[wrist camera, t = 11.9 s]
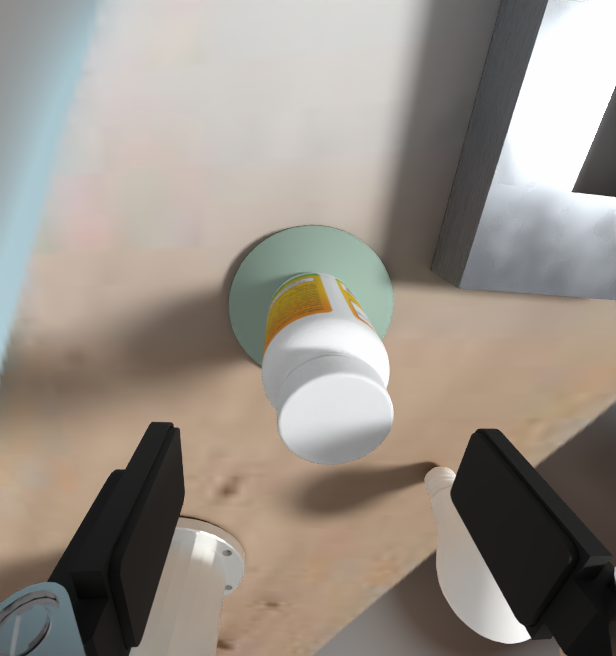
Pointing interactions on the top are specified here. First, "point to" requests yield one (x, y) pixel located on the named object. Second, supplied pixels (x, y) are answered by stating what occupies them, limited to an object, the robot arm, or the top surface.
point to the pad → (302, 257)
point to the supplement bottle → (325, 371)
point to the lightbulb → (467, 569)
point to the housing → (535, 158)
